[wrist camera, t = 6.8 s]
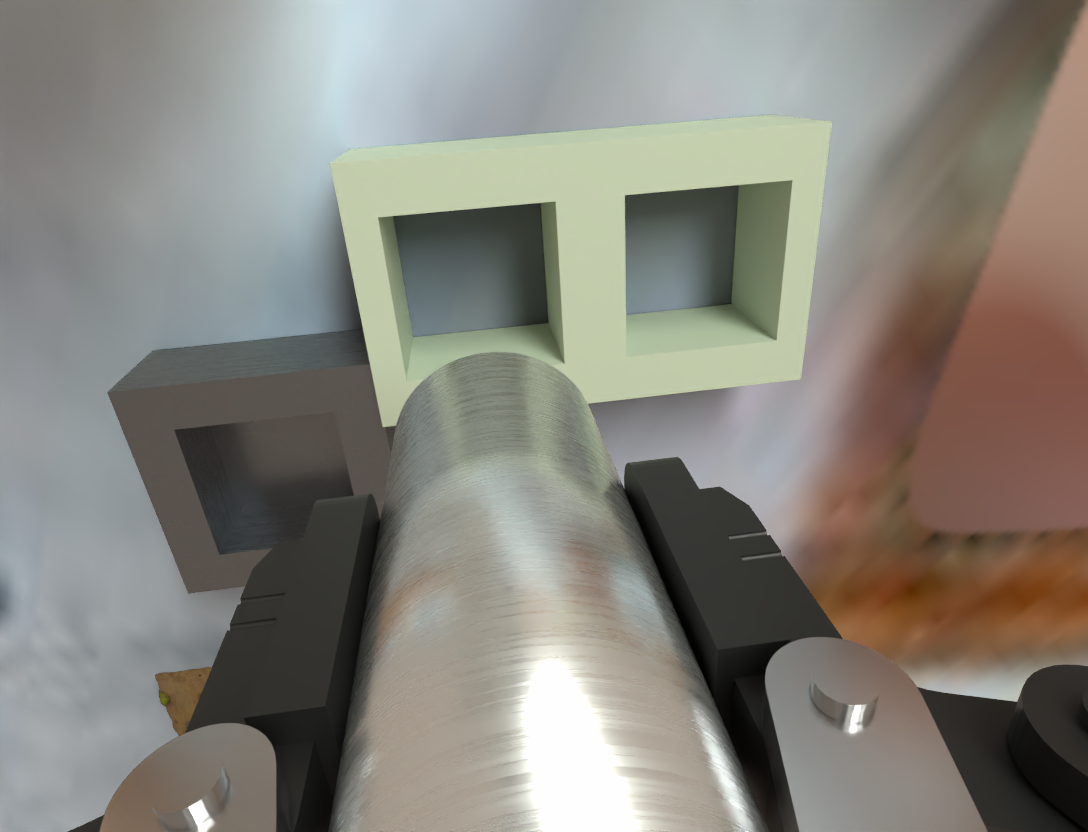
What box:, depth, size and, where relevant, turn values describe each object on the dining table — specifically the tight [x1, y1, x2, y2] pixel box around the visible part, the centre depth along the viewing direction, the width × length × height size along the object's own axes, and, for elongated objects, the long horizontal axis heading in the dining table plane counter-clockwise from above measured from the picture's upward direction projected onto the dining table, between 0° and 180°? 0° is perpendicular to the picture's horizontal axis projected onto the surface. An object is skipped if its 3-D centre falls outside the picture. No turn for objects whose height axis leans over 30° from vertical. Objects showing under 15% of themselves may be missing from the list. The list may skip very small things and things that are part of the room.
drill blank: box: [328, 352, 770, 832], centre depth 8 cm, size 4×4×9 cm
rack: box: [330, 115, 832, 427], centre depth 22 cm, size 8×14×4 cm, turn 94°
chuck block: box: [108, 329, 396, 593], centre depth 24 cm, size 8×8×4 cm
